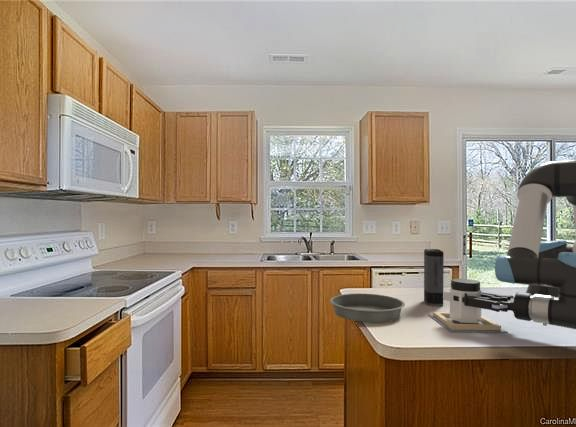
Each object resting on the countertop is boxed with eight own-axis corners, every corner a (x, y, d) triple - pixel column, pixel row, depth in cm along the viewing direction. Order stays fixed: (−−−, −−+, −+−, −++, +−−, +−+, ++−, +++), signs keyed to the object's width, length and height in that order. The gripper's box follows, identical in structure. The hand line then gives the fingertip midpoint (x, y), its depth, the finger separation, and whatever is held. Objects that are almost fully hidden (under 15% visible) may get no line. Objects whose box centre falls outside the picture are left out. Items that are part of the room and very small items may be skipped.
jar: (456, 314, 124) (456, 277, 124) (483, 319, 119) (483, 280, 119) (446, 320, 117) (446, 281, 117) (475, 325, 112) (475, 284, 112)
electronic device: (444, 306, 140) (444, 251, 140) (427, 305, 141) (427, 251, 141) (439, 300, 149) (439, 249, 149) (423, 300, 150) (423, 248, 150)
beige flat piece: (477, 315, 127) (477, 311, 127) (507, 332, 109) (507, 327, 109) (428, 315, 127) (428, 310, 127) (450, 332, 109) (450, 326, 109)
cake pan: (321, 319, 122) (321, 305, 122) (339, 303, 145) (339, 291, 145) (401, 328, 113) (401, 313, 113) (407, 309, 136) (407, 296, 136)
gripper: (523, 327, 99) (435, 311, 116) (540, 315, 111) (458, 302, 128) (523, 298, 99) (435, 286, 116) (540, 289, 111) (458, 279, 128)
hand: (447, 294), depth 122 cm, fingers closed on jar, 4 cm apart
